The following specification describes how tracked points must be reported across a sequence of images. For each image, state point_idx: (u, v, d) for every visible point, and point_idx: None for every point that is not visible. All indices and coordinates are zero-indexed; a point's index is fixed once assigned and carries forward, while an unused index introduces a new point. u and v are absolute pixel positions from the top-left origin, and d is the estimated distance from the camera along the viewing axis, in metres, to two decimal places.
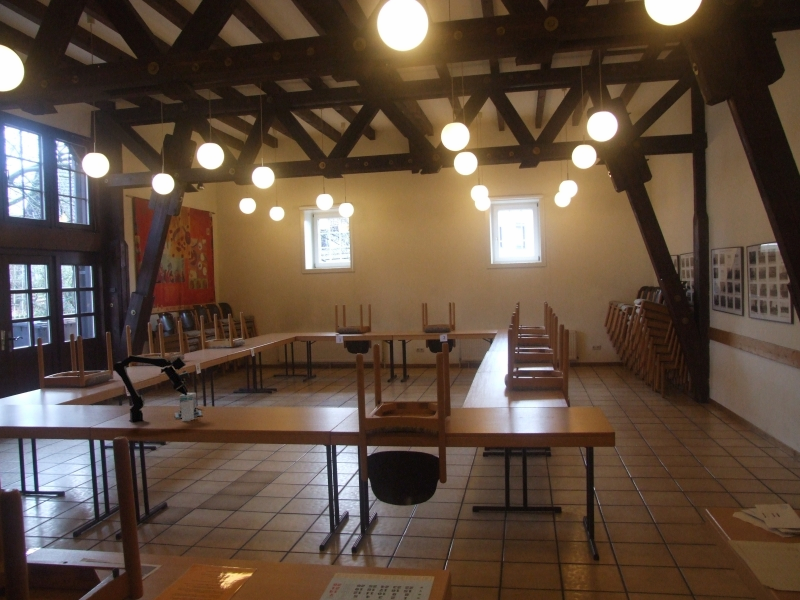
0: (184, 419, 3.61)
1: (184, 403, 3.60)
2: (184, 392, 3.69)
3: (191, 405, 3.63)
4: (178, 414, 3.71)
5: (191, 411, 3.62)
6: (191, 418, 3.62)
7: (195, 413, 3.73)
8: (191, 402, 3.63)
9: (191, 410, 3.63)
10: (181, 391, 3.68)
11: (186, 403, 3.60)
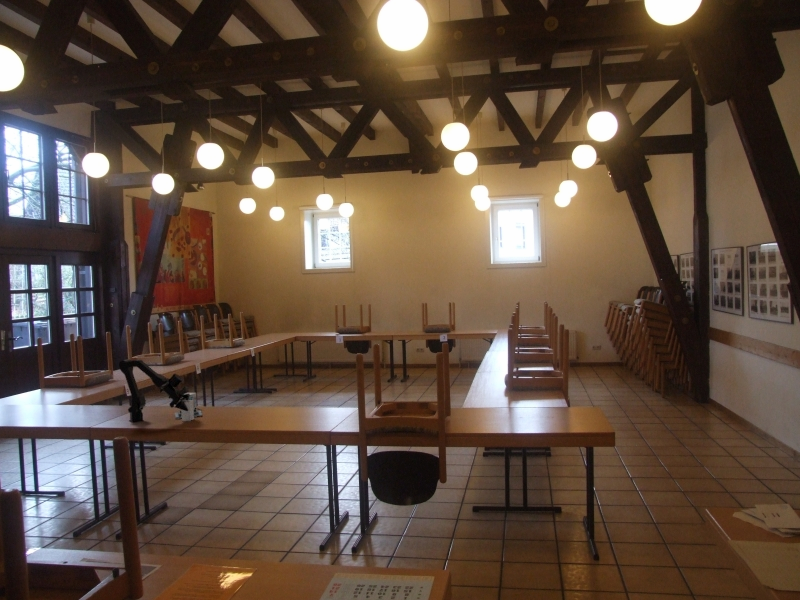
0: (184, 419, 3.61)
1: (184, 403, 3.60)
2: (184, 408, 3.59)
3: (191, 405, 3.63)
4: (178, 414, 3.71)
5: (191, 411, 3.62)
6: (191, 418, 3.62)
7: (195, 413, 3.73)
8: (191, 402, 3.63)
9: (191, 410, 3.63)
10: (181, 407, 3.59)
11: (186, 403, 3.60)
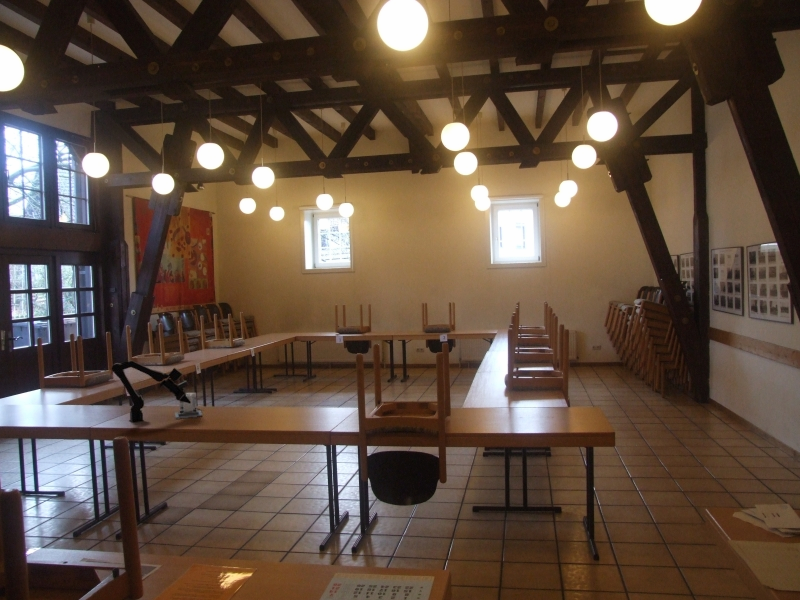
0: None
1: None
2: (187, 401, 3.72)
3: None
4: (178, 414, 3.71)
5: None
6: (192, 411, 3.77)
7: (195, 413, 3.73)
8: None
9: None
10: (184, 400, 3.71)
11: (189, 397, 3.75)
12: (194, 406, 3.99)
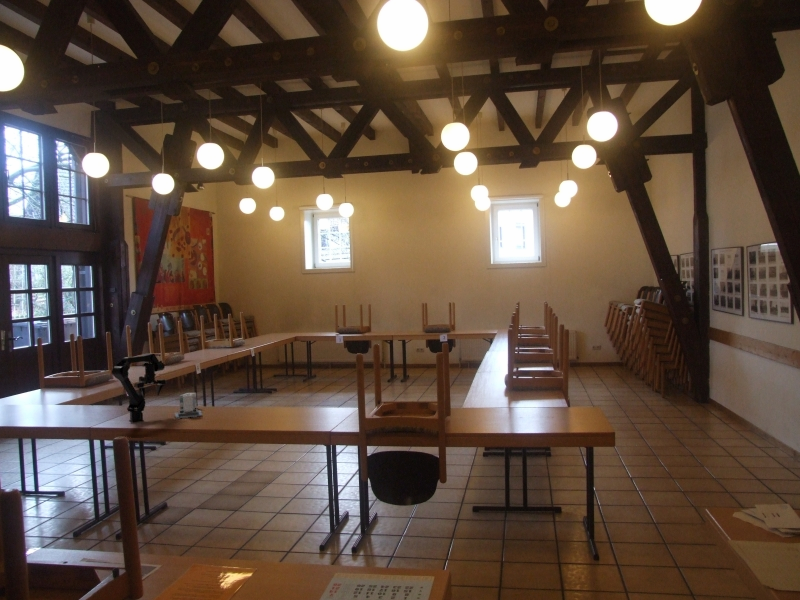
0: None
1: (186, 397, 3.74)
2: None
3: None
4: (178, 414, 3.71)
5: None
6: (192, 411, 3.77)
7: (195, 413, 3.73)
8: None
9: None
10: None
11: (189, 397, 3.75)
12: (194, 406, 3.99)
